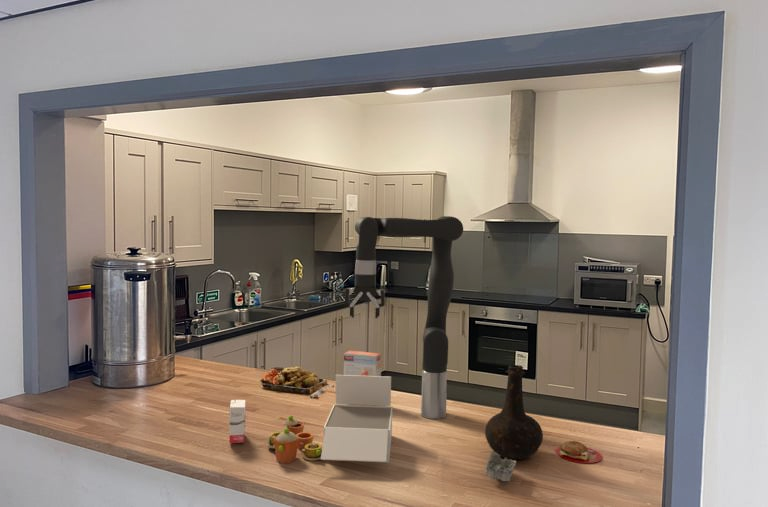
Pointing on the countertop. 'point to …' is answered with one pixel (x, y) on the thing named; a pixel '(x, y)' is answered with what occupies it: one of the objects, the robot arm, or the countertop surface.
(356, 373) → the cracker box
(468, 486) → the countertop surface
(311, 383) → the food tray
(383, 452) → the carton
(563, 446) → the hamburger
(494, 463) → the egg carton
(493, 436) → the glass bottle
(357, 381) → the flap
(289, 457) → the toy tea set
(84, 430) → the countertop surface
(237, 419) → the ink box
